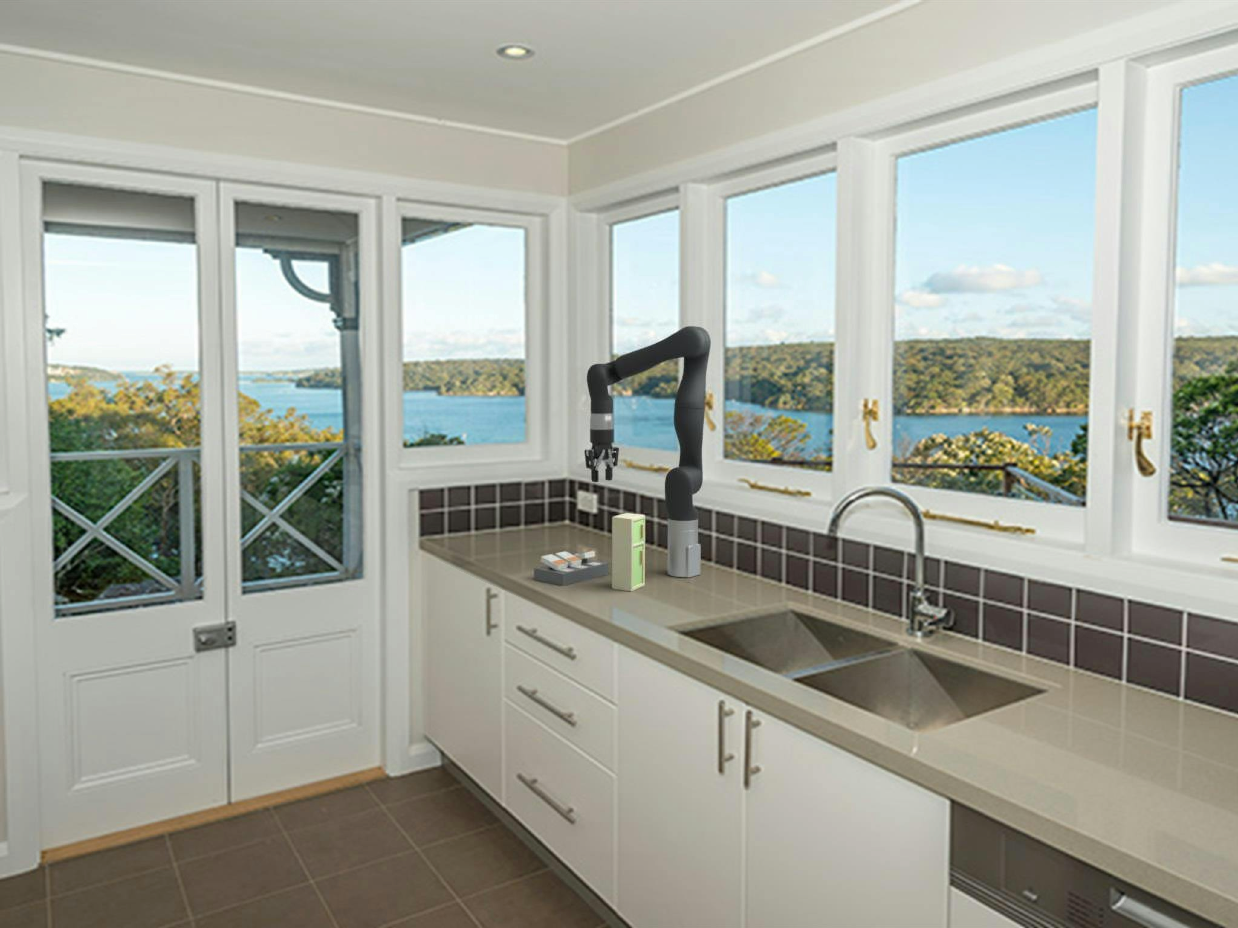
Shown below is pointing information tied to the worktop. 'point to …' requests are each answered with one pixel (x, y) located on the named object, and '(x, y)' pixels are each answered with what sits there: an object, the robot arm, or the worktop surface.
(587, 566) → the rocker switch panel
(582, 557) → the rocker
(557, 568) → the block
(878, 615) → the worktop surface
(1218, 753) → the worktop surface
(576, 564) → the block
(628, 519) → the toy refrigerator
